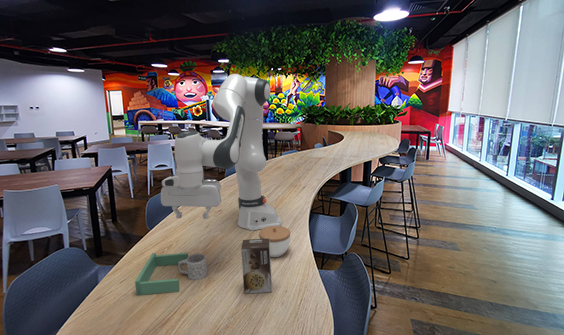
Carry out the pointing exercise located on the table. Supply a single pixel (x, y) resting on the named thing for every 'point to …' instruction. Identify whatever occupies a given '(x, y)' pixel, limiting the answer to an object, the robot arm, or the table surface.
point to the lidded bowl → (276, 239)
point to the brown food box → (256, 265)
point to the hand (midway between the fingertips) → (192, 217)
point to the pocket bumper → (160, 285)
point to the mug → (194, 266)
